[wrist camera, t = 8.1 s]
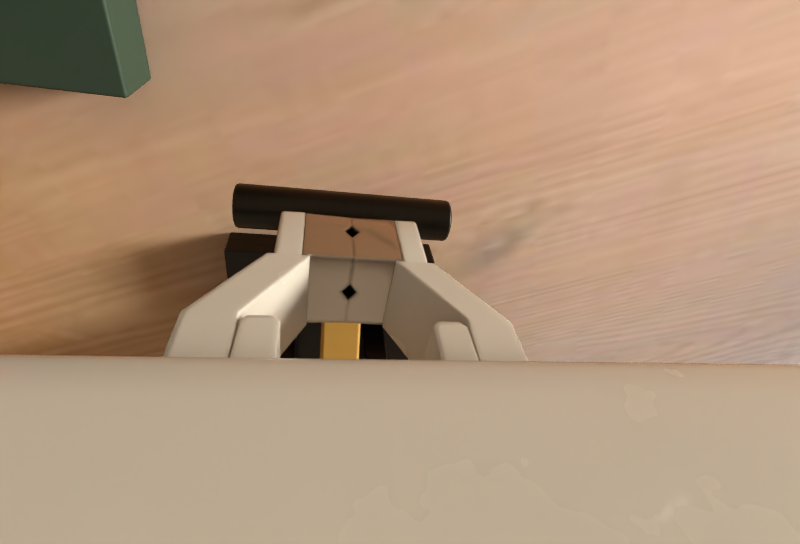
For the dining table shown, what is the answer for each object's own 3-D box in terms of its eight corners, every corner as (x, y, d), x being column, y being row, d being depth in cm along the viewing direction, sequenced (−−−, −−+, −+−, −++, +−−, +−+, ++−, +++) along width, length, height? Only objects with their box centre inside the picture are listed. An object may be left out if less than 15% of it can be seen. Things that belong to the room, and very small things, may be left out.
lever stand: (230, 231, 18) (86, 655, 7) (428, 244, 20) (542, 598, 9) (246, 385, 25) (182, 725, 14) (393, 384, 26) (436, 683, 16)
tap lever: (244, 187, 12) (227, 178, 10) (436, 203, 14) (460, 198, 11) (231, 613, 14) (214, 693, 11) (407, 593, 15) (424, 661, 13)
